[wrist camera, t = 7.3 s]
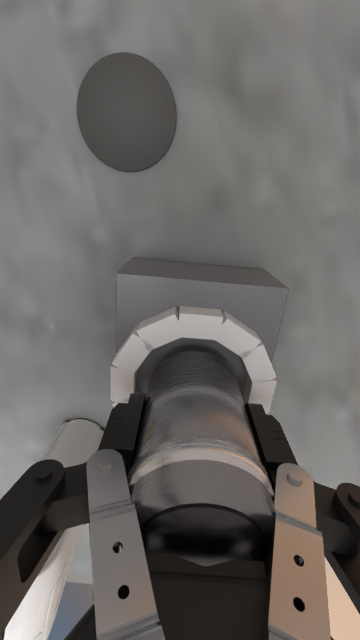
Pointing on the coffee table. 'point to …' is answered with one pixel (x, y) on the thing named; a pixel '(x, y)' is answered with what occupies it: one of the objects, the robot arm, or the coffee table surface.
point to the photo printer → (45, 593)
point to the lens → (199, 466)
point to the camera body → (196, 323)
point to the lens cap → (126, 112)
